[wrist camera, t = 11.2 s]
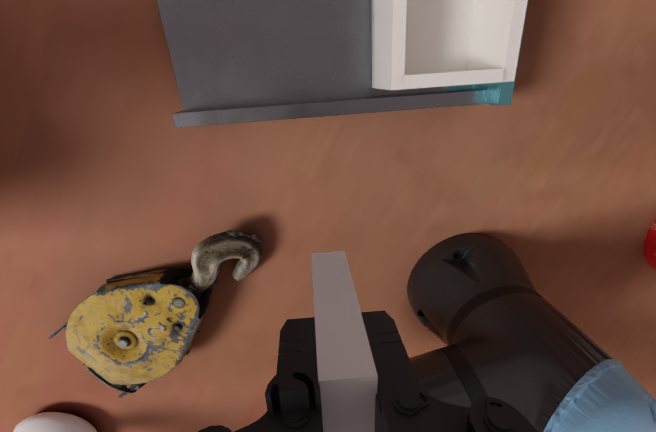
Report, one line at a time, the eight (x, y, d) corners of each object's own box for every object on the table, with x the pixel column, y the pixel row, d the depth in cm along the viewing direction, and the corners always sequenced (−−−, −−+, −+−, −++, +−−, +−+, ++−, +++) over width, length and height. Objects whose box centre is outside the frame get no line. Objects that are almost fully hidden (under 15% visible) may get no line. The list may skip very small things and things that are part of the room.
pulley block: (293, 298, 34) (110, 423, 39) (298, 273, 39) (137, 386, 45) (203, 198, 31) (18, 349, 36) (223, 186, 36) (59, 318, 42)
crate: (487, -74, 26) (548, -123, 20) (469, 80, 31) (514, 81, 25) (371, -69, 26) (395, -117, 19) (371, 87, 31) (391, 90, 24)
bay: (498, -98, 27) (552, -145, 21) (474, 100, 33) (511, 104, 28) (141, -83, 25) (96, -130, 19) (190, 121, 32) (166, 131, 26)
